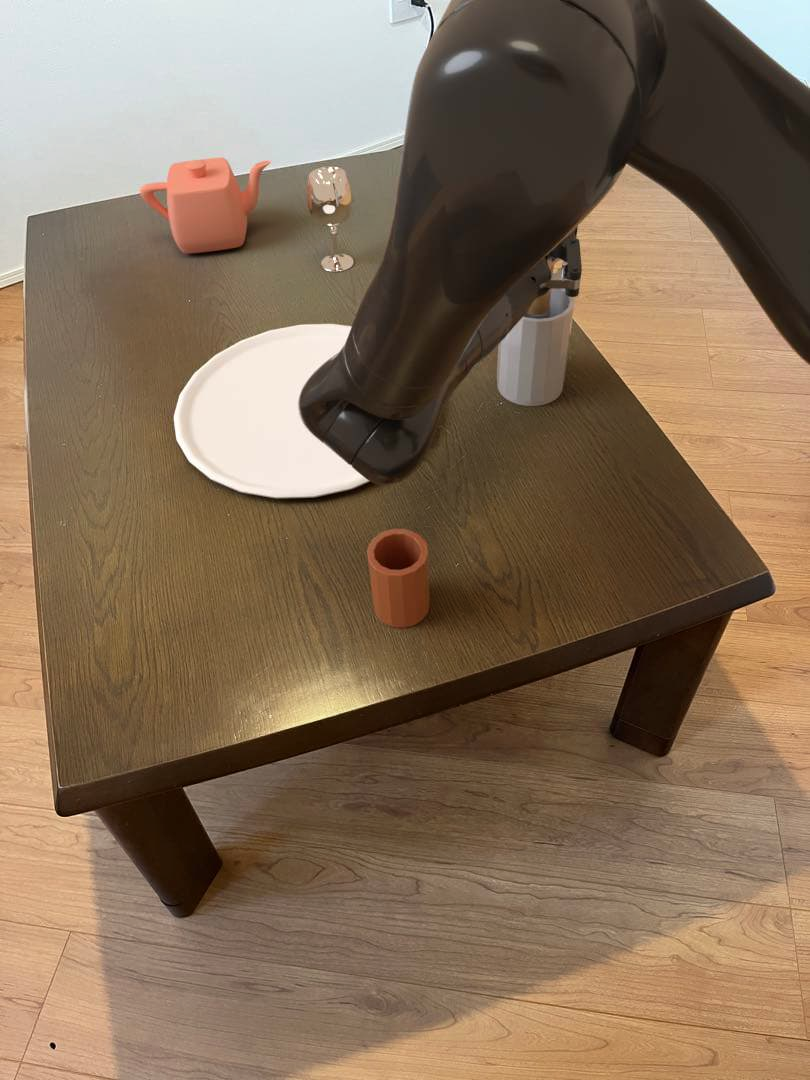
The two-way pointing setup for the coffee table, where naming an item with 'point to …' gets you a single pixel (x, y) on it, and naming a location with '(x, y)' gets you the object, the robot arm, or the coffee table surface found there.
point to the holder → (399, 577)
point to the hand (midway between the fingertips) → (557, 219)
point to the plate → (263, 416)
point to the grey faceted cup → (536, 355)
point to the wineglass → (331, 209)
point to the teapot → (205, 204)
